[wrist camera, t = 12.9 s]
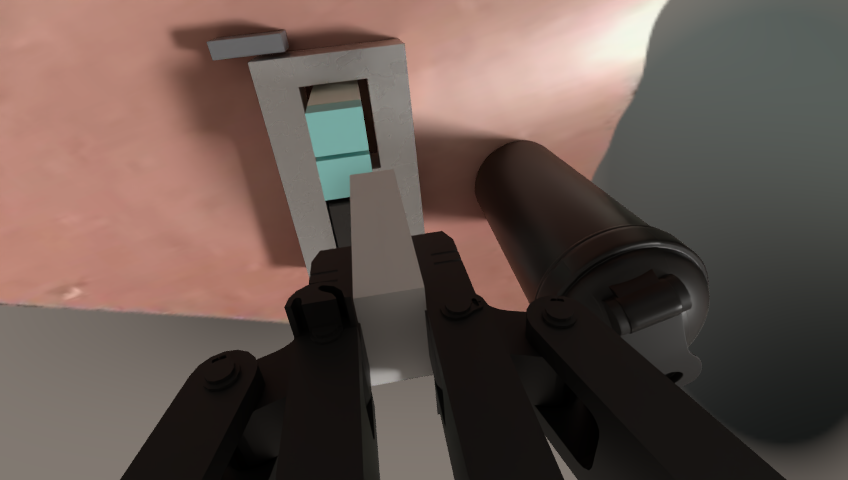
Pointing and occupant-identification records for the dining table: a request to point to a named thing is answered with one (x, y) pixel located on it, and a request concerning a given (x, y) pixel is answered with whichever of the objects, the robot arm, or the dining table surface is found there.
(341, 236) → the panel
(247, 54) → the pair of grey blocks
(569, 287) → the water bottle
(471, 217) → the dining table surface
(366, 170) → the plug
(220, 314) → the dining table surface
